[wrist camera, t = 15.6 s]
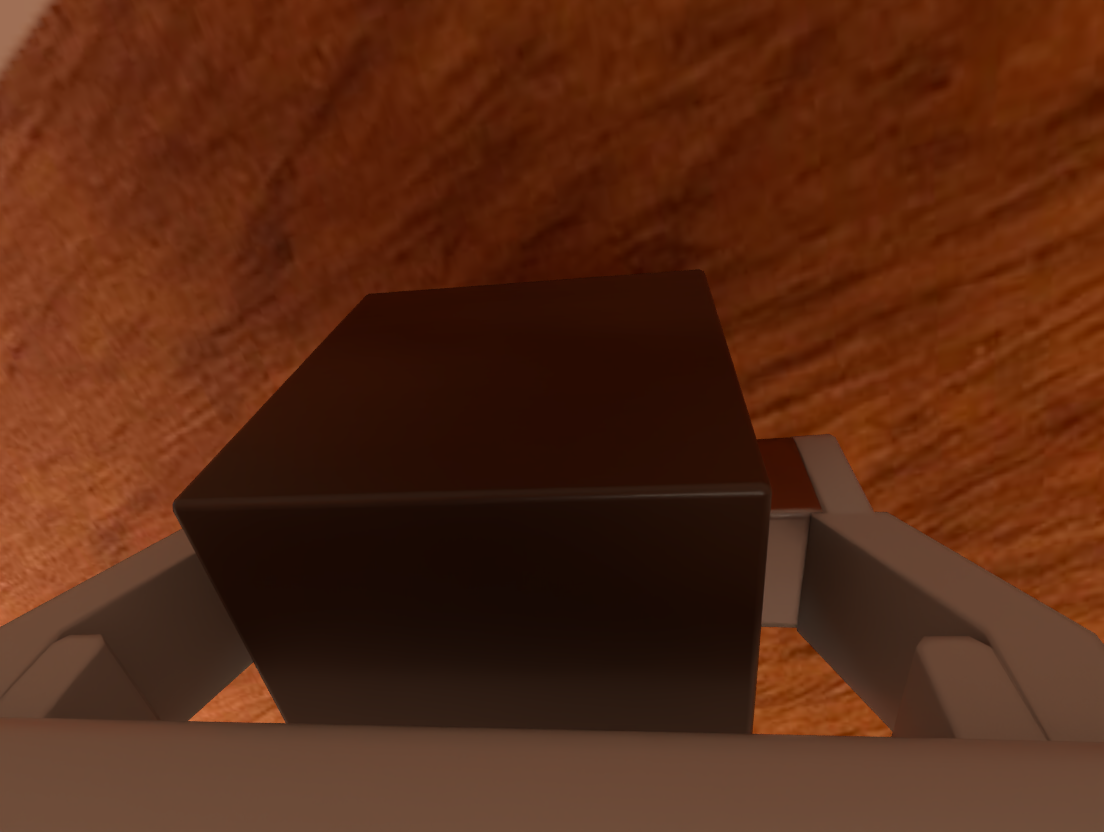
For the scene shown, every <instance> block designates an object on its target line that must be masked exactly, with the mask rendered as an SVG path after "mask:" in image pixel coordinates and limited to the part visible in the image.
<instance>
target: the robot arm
mask: <svg viewBox="0 0 1104 832" xmlns="http://www.w3.org/2000/svg"><path fill="white" fill-rule="evenodd" d="M757 442H758V446H759V449H760V452H761V455H762V458H763V462H764V465H765V468H766V471H767V474H768V478H769V481H770V484H771V487H772V500H771V512H770V524H769V536H768V549H767V561H766V573H765V585H764V597H763V610H762V622H761V627H796V628H797V631H798V632H799V633H800V634H801V635H802V637H803V638H804V639H805V640H806V641H807V642H808V643H809V644H810V645H811V646H812V647H813V648H814V649H815V650H816V651H817V652H818V653H819V654H820V655H821V657H822V658H823V659H824V660H825V661H826V662H827V663H828V664H829V665H830V666H831V667H832V668H833V669H834V670H835V671H836V672H837V673H838V674H839V675H840V677H841V678H842V679H843V680H844V681H845V682H846V683H847V684H848V685H849V686H850V687H851V688H852V689H853V690H854V691H855V692H856V693H857V694H858V695H859V696H860V698H861V699H862V700H863V701H864V702H865V703H866V704H867V705H868V706H869V707H870V708H871V709H872V710H873V711H874V712H875V713H876V714H877V715H878V716H879V718H880V719H881V720H882V721H883V722H884V723H885V724H886V725H887V726H888V727H889V728H890V729H891V730H892V731H893V733H892V736H891V737H862V736H817V735H773V734H729V733H686V732H642V731H599V730H555V729H511V728H466V727H421V726H376V725H332V724H287V723H242V722H197V721H188V720H189V719H190V718H192V717H193V716H194V715H195V714H196V713H197V712H198V711H199V710H201V709H202V708H203V707H204V706H205V705H206V704H207V703H208V702H209V701H211V700H212V699H213V698H214V697H215V696H216V695H217V694H218V693H219V692H221V691H222V690H223V689H224V688H225V687H226V686H227V685H228V684H229V683H231V682H232V681H233V680H234V679H235V678H236V677H237V676H238V675H239V674H241V673H242V672H243V671H244V670H245V669H246V668H247V667H248V666H249V665H251V664H252V663H253V660H252V658H251V656H250V654H249V653H248V651H247V649H246V647H245V645H244V643H243V641H242V639H241V638H240V636H239V634H238V632H237V630H236V628H235V626H234V624H233V622H232V621H231V619H230V617H229V615H228V613H227V611H226V609H225V607H224V606H223V604H222V602H221V600H220V598H219V596H218V594H217V592H216V591H215V589H214V587H213V585H212V583H211V581H210V579H209V577H208V576H207V574H206V572H205V570H204V568H203V566H202V564H201V562H200V560H199V559H198V557H197V555H196V553H195V551H194V549H193V547H192V545H191V544H190V542H189V540H188V538H187V536H186V534H185V532H184V530H183V529H181V530H179V531H177V532H175V533H173V534H171V535H170V536H168V537H166V538H164V539H162V540H160V541H158V542H157V543H155V544H153V545H151V546H149V547H147V548H146V549H144V550H142V551H140V552H138V553H136V554H134V555H133V556H131V557H129V558H127V559H125V560H123V561H121V562H120V563H118V564H116V565H114V566H112V567H110V568H109V569H107V570H105V571H103V572H101V573H99V574H97V575H96V576H94V577H92V578H90V579H88V580H86V581H85V582H83V583H81V584H79V585H77V586H75V587H73V588H72V589H70V590H68V591H66V592H64V593H62V594H61V595H59V596H57V597H55V598H53V599H51V600H49V601H48V602H46V603H44V604H42V605H40V606H38V607H36V608H35V609H33V610H31V611H29V612H27V613H25V614H24V615H22V616H20V617H18V618H16V619H14V620H12V621H11V622H9V623H7V624H5V625H3V626H1V627H0V832H1104V644H1103V643H1102V642H1101V640H1100V639H1099V638H1098V637H1097V635H1096V634H1095V633H1093V632H1091V631H1089V630H1088V629H1086V628H1084V627H1083V626H1081V625H1079V624H1077V623H1076V622H1074V621H1072V620H1071V619H1069V618H1067V617H1065V616H1064V615H1062V614H1060V613H1059V612H1057V611H1055V610H1053V609H1052V608H1050V607H1048V606H1047V605H1045V604H1043V603H1041V602H1040V601H1038V600H1036V599H1035V598H1033V597H1031V596H1029V595H1028V594H1026V593H1024V592H1023V591H1021V590H1019V589H1017V588H1016V587H1014V586H1012V585H1011V584H1009V583H1007V582H1006V581H1004V580H1002V579H1000V578H999V577H997V576H995V575H994V574H992V573H990V572H988V571H987V570H985V569H983V568H982V567H980V566H978V565H976V564H975V563H973V562H971V561H970V560H968V559H966V558H964V557H963V556H961V555H959V554H958V553H956V552H954V551H952V550H951V549H949V548H947V547H946V546H944V545H942V544H940V543H939V542H937V541H935V540H934V539H932V538H930V537H928V536H927V535H925V534H923V533H922V532H920V531H918V530H916V529H915V528H913V527H911V526H910V525H908V524H906V523H905V522H903V521H901V520H899V519H898V518H896V517H894V516H893V515H891V514H889V513H887V512H874V511H873V509H872V507H871V505H870V503H869V501H868V499H867V498H866V496H865V494H864V492H863V490H862V488H861V486H860V484H859V482H858V480H857V478H856V476H855V474H854V472H853V470H852V469H851V467H850V465H849V463H848V461H847V459H846V457H845V455H844V453H843V451H842V449H841V447H840V445H839V443H838V441H837V440H836V438H835V437H834V436H832V435H831V434H823V435H809V436H795V437H789V438H772V439H757Z"/></svg>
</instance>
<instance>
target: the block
mask: <svg viewBox="0 0 1104 832" xmlns="http://www.w3.org/2000/svg"><path fill="white" fill-rule="evenodd" d="M771 500H772V487H771V484H770V481H769V478H768V474H767V471H766V468H765V465H764V462H763V458H762V455H761V452H760V449H759V446H758V442H757V439H756V436H755V433H754V430H753V426H752V423H751V420H750V417H749V413H748V410H747V407H746V404H745V401H744V397H743V394H742V391H741V388H740V385H739V381H738V378H737V375H736V372H735V369H734V365H733V362H732V359H731V356H730V353H729V349H728V346H727V343H726V340H725V336H724V333H723V330H722V327H721V324H720V320H719V317H718V314H717V311H716V308H715V304H714V301H713V298H712V295H711V292H710V288H709V285H708V282H707V279H706V275H705V273H704V271H702V270H699V269H697V270H684V271H671V272H657V273H644V274H630V275H617V276H603V277H590V278H577V279H563V280H550V281H536V282H523V283H510V284H496V285H483V286H469V287H456V288H442V289H429V290H416V291H402V292H389V293H375V294H368V295H366V296H365V297H364V298H363V299H362V300H361V301H360V302H359V303H358V304H357V305H356V307H355V308H354V309H353V310H352V311H351V312H350V313H349V314H348V315H347V316H346V317H345V318H344V319H343V320H342V322H341V323H340V324H339V325H338V326H337V327H336V328H335V329H334V330H333V331H332V332H331V333H330V334H329V335H328V337H327V338H326V339H325V340H324V341H323V342H322V343H321V344H320V345H319V346H318V347H317V348H316V349H315V350H314V351H313V353H312V354H311V355H310V356H309V357H308V358H307V359H306V360H305V361H304V362H303V363H302V364H301V365H300V366H299V368H298V369H297V370H296V371H295V372H294V373H293V374H292V375H291V376H290V377H289V378H288V379H287V380H286V381H285V383H284V384H283V385H282V386H281V387H280V388H279V389H278V390H277V391H276V392H275V393H274V394H273V395H272V396H271V397H270V399H269V400H268V401H267V402H266V403H265V404H264V405H263V406H262V407H261V408H260V409H259V410H258V411H257V412H256V414H255V415H254V416H253V417H252V418H251V419H250V420H249V421H248V422H247V423H246V424H245V425H244V426H243V427H242V429H241V430H240V431H239V432H238V433H237V434H236V435H235V436H234V437H233V438H232V439H231V440H230V441H229V442H228V443H227V445H226V446H225V447H224V448H223V449H222V450H221V451H220V452H219V453H218V454H217V455H216V456H215V457H214V458H213V460H212V461H211V462H210V463H209V464H208V465H207V466H206V467H205V468H204V469H203V470H202V471H201V472H200V473H199V475H198V476H197V477H196V478H195V479H194V480H193V481H192V482H191V483H190V484H189V485H188V486H187V487H186V488H185V489H184V491H183V492H182V493H181V494H180V495H179V496H178V497H177V498H176V499H175V500H174V503H173V512H174V514H175V515H176V517H177V519H178V521H179V523H180V525H181V527H182V529H183V530H184V532H185V534H186V536H187V538H188V540H189V542H190V544H191V545H192V547H193V549H194V551H195V553H196V555H197V557H198V559H199V560H200V562H201V564H202V566H203V568H204V570H205V572H206V574H207V576H208V577H209V579H210V581H211V583H212V585H213V587H214V589H215V591H216V592H217V594H218V596H219V598H220V600H221V602H222V604H223V606H224V607H225V609H226V611H227V613H228V615H229V617H230V619H231V621H232V622H233V624H234V626H235V628H236V630H237V632H238V634H239V636H240V638H241V639H242V641H243V643H244V645H245V647H246V649H247V651H248V653H249V654H250V656H251V658H252V660H253V662H254V664H255V666H256V668H257V669H258V671H259V673H260V675H261V677H262V679H263V681H264V683H265V684H266V686H267V688H268V690H269V692H270V694H271V696H272V698H273V700H274V701H275V703H276V705H277V707H278V709H279V711H280V713H281V715H282V716H283V718H284V720H285V722H286V723H287V724H332V725H376V726H421V727H466V728H511V729H555V730H599V731H642V732H686V733H729V734H752V732H753V719H754V707H755V695H756V683H757V671H758V658H759V646H760V634H761V622H762V610H763V597H764V585H765V573H766V561H767V549H768V536H769V524H770V512H771Z"/></svg>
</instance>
